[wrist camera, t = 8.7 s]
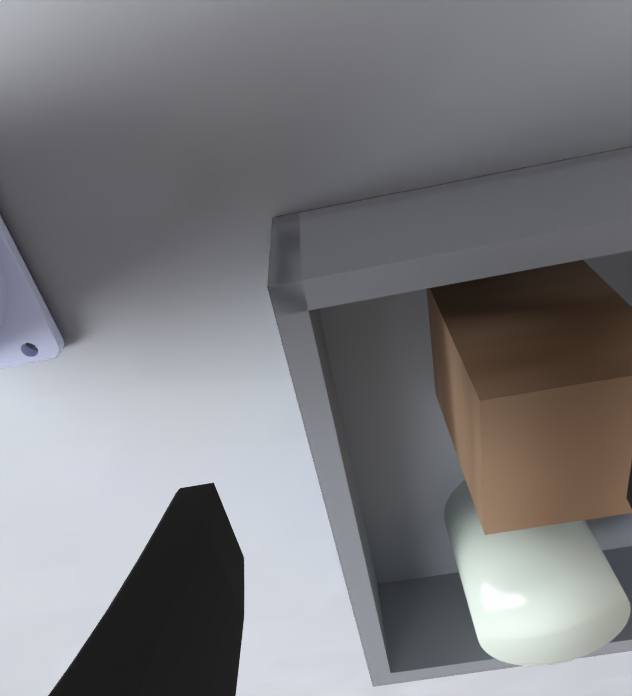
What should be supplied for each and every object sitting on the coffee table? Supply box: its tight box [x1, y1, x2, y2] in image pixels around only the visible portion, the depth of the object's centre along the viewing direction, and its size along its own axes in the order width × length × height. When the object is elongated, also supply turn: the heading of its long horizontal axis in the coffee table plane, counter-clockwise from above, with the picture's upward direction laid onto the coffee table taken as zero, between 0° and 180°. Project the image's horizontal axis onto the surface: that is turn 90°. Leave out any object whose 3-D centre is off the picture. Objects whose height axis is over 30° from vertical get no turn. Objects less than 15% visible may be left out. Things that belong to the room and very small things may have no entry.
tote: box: [267, 147, 632, 687], centre depth 20 cm, size 13×18×4 cm
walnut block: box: [427, 260, 632, 535], centre depth 16 cm, size 4×4×6 cm
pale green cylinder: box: [444, 480, 631, 666], centre depth 21 cm, size 5×5×5 cm
